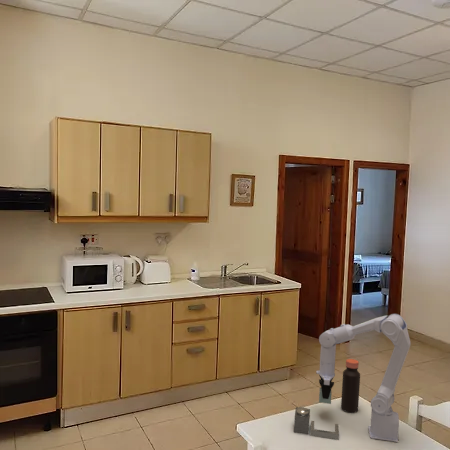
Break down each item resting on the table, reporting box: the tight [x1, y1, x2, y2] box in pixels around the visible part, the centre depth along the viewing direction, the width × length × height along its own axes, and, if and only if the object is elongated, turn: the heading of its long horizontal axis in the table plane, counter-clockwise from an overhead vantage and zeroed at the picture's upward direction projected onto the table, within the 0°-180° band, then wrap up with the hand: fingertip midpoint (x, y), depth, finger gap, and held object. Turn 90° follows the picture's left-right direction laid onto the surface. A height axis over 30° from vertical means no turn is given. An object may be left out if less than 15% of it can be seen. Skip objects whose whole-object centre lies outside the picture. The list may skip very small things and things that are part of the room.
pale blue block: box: [318, 387, 332, 405], centre depth 174 cm, size 4×4×5 cm
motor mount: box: [293, 406, 340, 441], centre depth 163 cm, size 16×8×7 cm, turn 78°
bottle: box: [340, 358, 361, 414], centre depth 181 cm, size 7×7×20 cm
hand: (325, 395), depth 174 cm, fingers closed on pale blue block, 4 cm apart
